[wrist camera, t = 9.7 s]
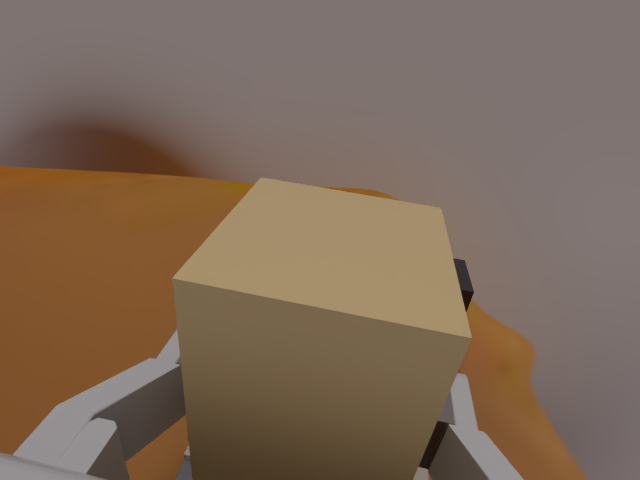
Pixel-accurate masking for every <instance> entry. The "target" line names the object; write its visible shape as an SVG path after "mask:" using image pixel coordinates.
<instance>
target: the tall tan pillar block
mask: <svg viewBox="0 0 640 480" xmlns="http://www.w3.org/2000/svg"><path fill="white" fill-rule="evenodd" d="M172 281H173V291H174V301H175V311H176V321H177V331H178V341H179V351H180V361H181V371H182V381H183V390H184V400H185V410H186V420H187V430H188V440H189V450H190V460H191V470H192V480H413V479H414V476H415V474H416V471H417V469H418V467H419V464H420V462H421V459H422V457H423V455H424V452H425V450H426V447H427V445H428V443H429V440H430V438H431V435H432V433H433V431H434V428H435V426H436V423H437V421H438V419H439V416H440V414H441V411H442V409H443V407H444V404H445V402H446V399H447V397H448V395H449V392H450V390H451V387H452V385H453V383H454V380H455V378H456V375H457V373H458V371H459V368H460V366H461V363H462V361H463V359H464V356H465V354H466V351H467V349H468V347H469V344H470V342H471V339H472V336H471V332H470V328H469V323H468V319H467V315H466V311H465V307H464V302H463V298H462V294H461V290H460V285H459V281H458V277H457V273H456V269H455V264H454V260H453V256H452V252H451V248H450V244H449V239H448V235H447V231H446V226H445V222H444V218H443V214H442V210H441V208H438V207H432V206H427V205H421V204H415V203H409V202H403V201H397V200H391V199H385V198H379V197H374V196H368V195H362V194H356V193H350V192H344V191H338V190H332V189H327V188H321V187H315V186H309V185H303V184H297V183H291V182H285V181H279V180H274V179H268V178H260V179H259V180H258V181H257V183H256V184H255V185H254V186H253V187H252V188H251V189H250V190H249V192H248V193H247V194H246V195H245V196H244V197H243V198H242V200H241V201H240V202H239V203H238V204H237V205H236V206H235V208H234V209H233V210H232V211H231V212H230V213H229V214H228V215H227V217H226V218H225V219H224V220H223V221H222V222H221V223H220V225H219V226H218V227H217V228H216V229H215V230H214V231H213V232H212V234H211V235H210V236H209V237H208V238H207V239H206V240H205V242H204V243H203V244H202V245H201V246H200V247H199V248H198V249H197V251H196V252H195V253H194V254H193V255H192V256H191V257H190V259H189V260H188V261H187V262H186V263H185V264H184V265H183V266H182V268H181V269H180V270H179V271H178V272H177V273H176V274H175V276H174V277H173V278H172Z"/></svg>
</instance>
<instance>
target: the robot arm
mask: <svg viewBox="0 0 640 480" xmlns="http://www.w3.org/2000/svg"><path fill="white" fill-rule="evenodd" d="M185 415H186V410H185V400H184V390H183V381H182V371H181V361H180V351H179V341H178V331H177V330H176V331H175V333H174V334H173V335H172V337H171V338H170V339H169V341H168V342H167V344H166V345H165V346H164V348H163V349H162V351H161V352H160V353H159V355H158V356H157V357H156V359H154V358H149V359H147V360H145V361H143V362H141V363H139V364H137V365H135V366H133V367H131V368H129V369H127V370H125V371H123V372H121V373H119V374H118V375H116V376H114V377H112V378H110V379H108V380H106V381H104V382H102V383H100V384H98V385H96V386H94V387H92V388H90V389H88V390H86V391H84V392H82V393H80V394H78V395H76V396H74V397H72V398H70V399H68V400H66V401H64V402H63V403H61V404H59V405H57V406H56V407H55V408H54V409H53V410H52V411H51V412H50V413H49V415H48V416H47V417H46V418H45V419H44V420H43V421H42V422H41V423H40V425H39V426H38V427H37V428H36V429H35V430H34V431H33V432H32V434H31V435H30V436H29V437H28V438H27V439H26V440H25V441H24V442H23V444H22V445H21V446H20V447H19V448H18V449H17V450H16V451H15V453H14V454H13V455H9V454H5V453H2V452H0V480H130V479H129V475H128V470H127V466H126V461H127V460H128V459H130V458H131V457H132V456H134V455H135V454H136V453H137V452H139V451H140V450H141V449H143V448H144V447H145V446H146V445H148V444H149V443H150V442H151V441H153V440H154V439H155V438H157V437H158V436H159V435H160V434H162V433H163V432H164V431H166V430H167V429H168V428H169V427H171V426H172V425H173V424H174V423H176V422H177V421H178V420H180V419H181V418H182V417H183V416H185ZM419 467H421V468H425V469H429V470H428V472H429V474H430V476H431V478H432V480H524V479H523V478H522V477H521V476H520V475H519V473H518V472H517V471H516V470H515V468H514V467H513V466H512V465H511V464H510V462H509V461H508V460H507V459H506V458H505V456H504V455H503V454H502V453H501V451H500V450H499V449H498V448H497V447H496V445H495V444H494V443H493V442H492V440H491V439H490V438H489V437H488V436H487V434H486V433H485V432H482V431H478V426H477V421H476V416H475V411H474V406H473V402H472V397H471V392H470V387H469V382H468V378H467V376H466V375H465V374H460V373H457V375H456V378H455V380H454V383H453V385H452V387H451V390H450V392H449V395H448V397H447V399H446V402H445V404H444V407H443V409H442V411H441V414H440V416H439V419H438V421H437V423H436V426H435V428H434V431H433V433H432V435H431V438H430V440H429V443H428V445H427V447H426V450H425V452H424V455H423V457H422V459H421V462H420V464H419Z"/></svg>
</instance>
